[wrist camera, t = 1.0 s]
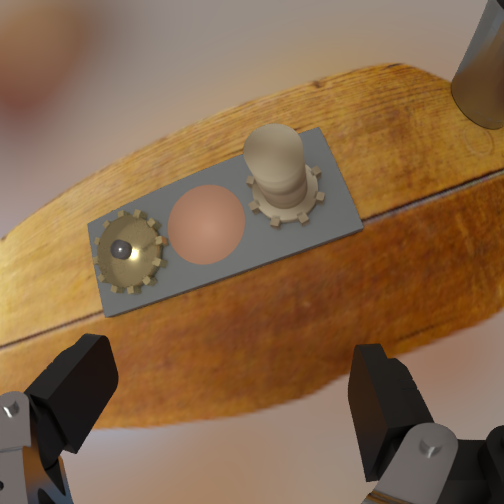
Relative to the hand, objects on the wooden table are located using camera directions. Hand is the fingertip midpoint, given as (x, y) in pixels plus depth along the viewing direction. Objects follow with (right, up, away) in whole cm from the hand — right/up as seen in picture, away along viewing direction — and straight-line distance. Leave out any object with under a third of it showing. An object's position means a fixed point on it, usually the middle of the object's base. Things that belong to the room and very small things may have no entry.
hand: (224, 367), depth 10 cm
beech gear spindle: (+4, +10, +23) cm, 25 cm away
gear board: (-4, +6, +26) cm, 27 cm away
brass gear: (-13, +3, +25) cm, 29 cm away
